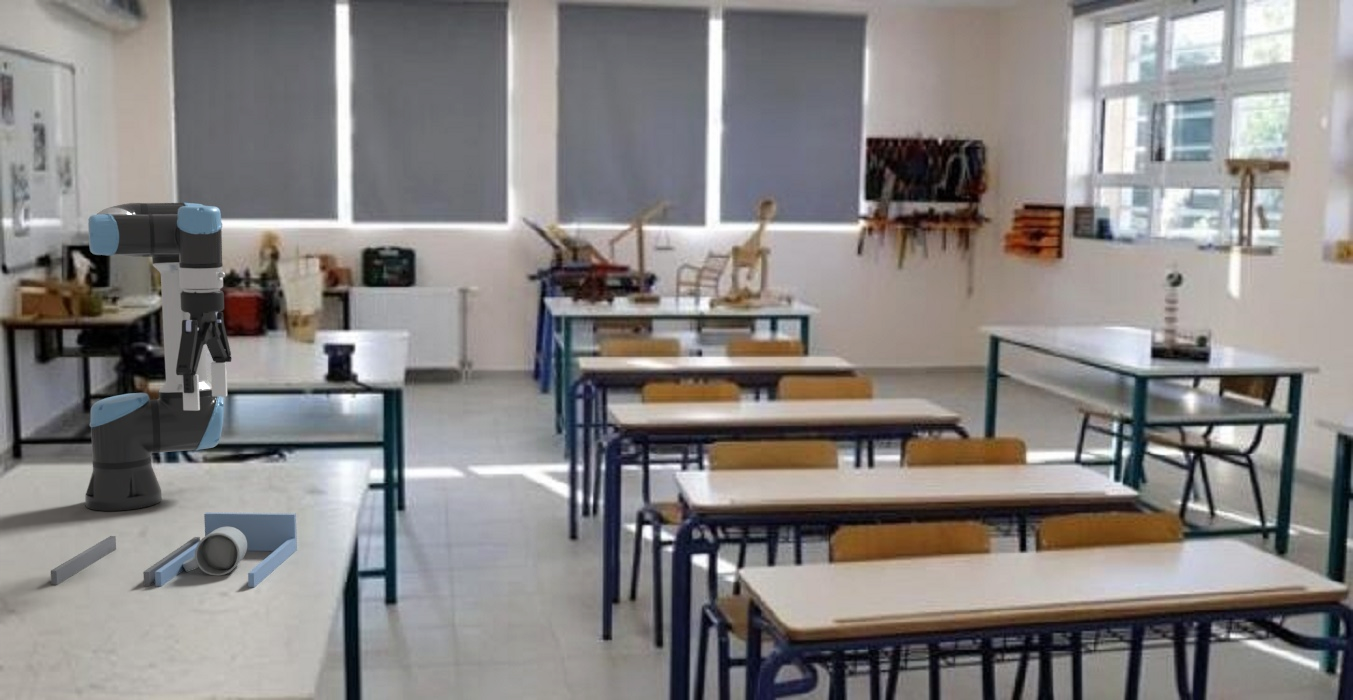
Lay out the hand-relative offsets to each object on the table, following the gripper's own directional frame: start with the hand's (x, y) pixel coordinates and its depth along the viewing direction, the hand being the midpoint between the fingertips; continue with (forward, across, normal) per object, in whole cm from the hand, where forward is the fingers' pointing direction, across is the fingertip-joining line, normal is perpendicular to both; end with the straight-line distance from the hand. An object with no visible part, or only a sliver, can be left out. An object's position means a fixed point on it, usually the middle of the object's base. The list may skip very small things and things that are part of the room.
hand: (206, 403), depth 236 cm
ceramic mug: (+28, -15, -6) cm, 32 cm away
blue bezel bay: (+27, -14, -8) cm, 32 cm away
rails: (+28, -14, +10) cm, 32 cm away
